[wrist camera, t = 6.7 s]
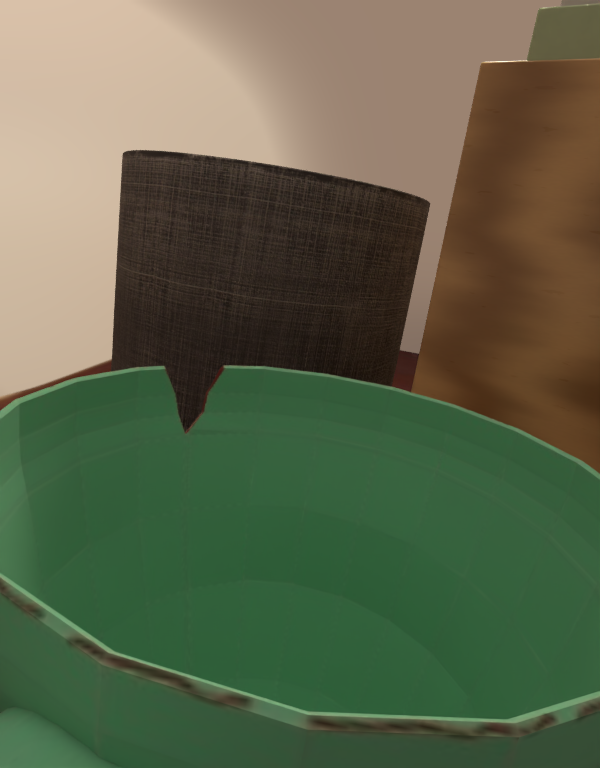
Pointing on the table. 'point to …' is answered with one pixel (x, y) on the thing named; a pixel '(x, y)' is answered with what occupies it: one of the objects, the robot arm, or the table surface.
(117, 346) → the planter
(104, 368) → the table surface
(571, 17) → the scale
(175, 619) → the mug
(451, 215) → the riser
